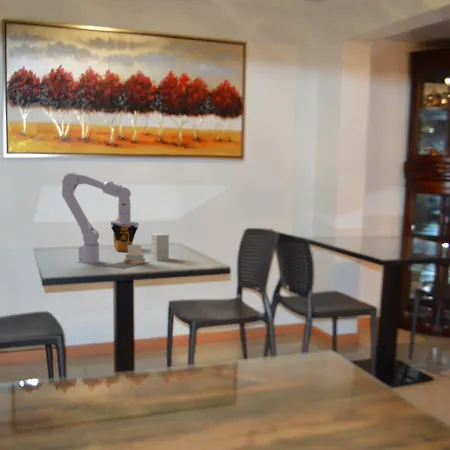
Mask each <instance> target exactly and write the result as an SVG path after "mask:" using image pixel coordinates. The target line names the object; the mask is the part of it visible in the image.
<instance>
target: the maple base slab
mask: <svg viewBox="0 0 450 450" xmlns="http://www.w3.org/2000/svg"><path fill="white" fill-rule="evenodd" d="M123 261H124V263H126V264H134V265H137V264H141V263H145V262H146V258H145V257H144V258H143V259H139V260H129V259H126V258H124V259H123Z"/></svg>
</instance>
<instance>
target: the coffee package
mask: <svg viewBox="0 0 450 450" xmlns="http://www.w3.org/2000/svg"><path fill="white" fill-rule="evenodd" d="M115 221H118V217H117V218H116V220H115ZM120 225H126V224H120ZM128 227H130V226H121V231H120V240H119V241H116V237H115V234H114V233H113V245H114V248H115V249H116V251H118V252H128V245H133V242H129V232H128Z"/></svg>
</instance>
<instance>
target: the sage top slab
mask: <svg viewBox="0 0 450 450" xmlns="http://www.w3.org/2000/svg"><path fill="white" fill-rule="evenodd" d="M144 256H145V255H144V254H143V253H141V255H137V256H133V255H128V254H126V255H125V259H129V260H139V259H143V258H145V257H144Z"/></svg>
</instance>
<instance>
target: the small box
mask: <svg viewBox="0 0 450 450" xmlns="http://www.w3.org/2000/svg"><path fill="white" fill-rule="evenodd" d="M169 236H170V235H169V234H167V233H163V232H162V233H161V232H160V233H159V232H158V233H151V260H154V261H156V262H163V261H165V262H166V261H169V260H170V259H169V258H170V257H169V256H170V255H169V249H170V248H169V247H170V245H169V244H170V243H169V242H170V240H169V238H170V237H169Z"/></svg>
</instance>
